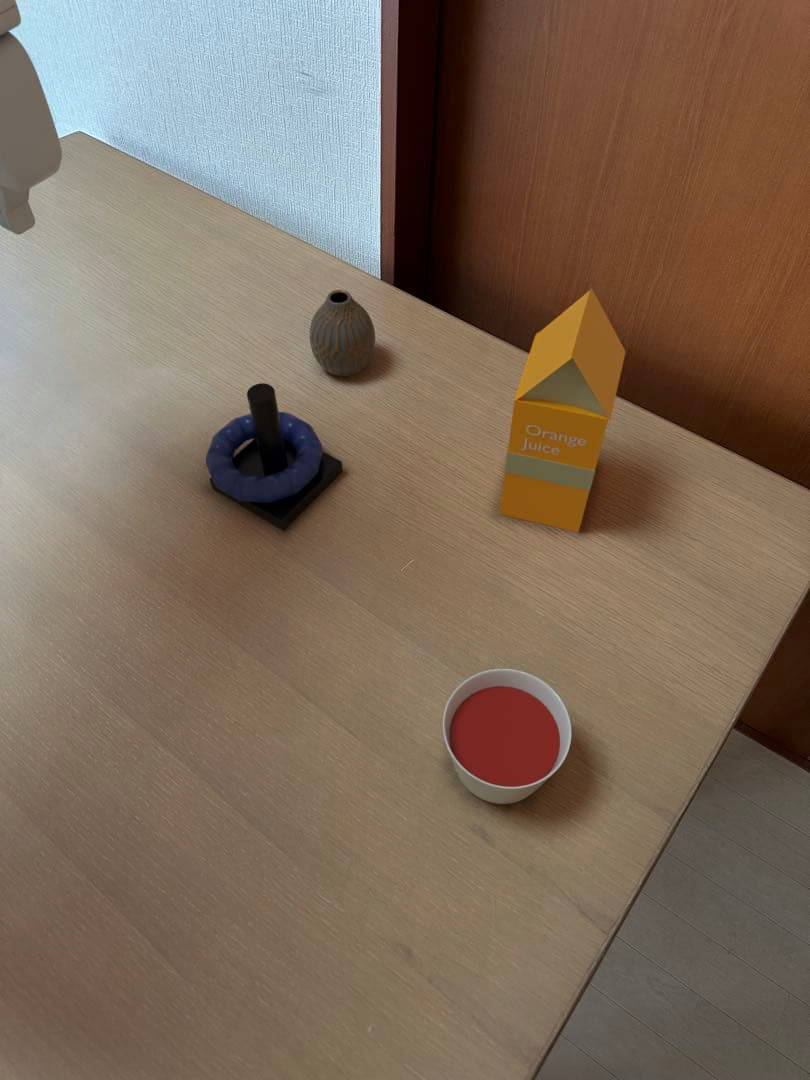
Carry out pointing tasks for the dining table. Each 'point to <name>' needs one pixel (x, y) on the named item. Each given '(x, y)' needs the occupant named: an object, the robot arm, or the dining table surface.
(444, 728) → the candle
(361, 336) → the vase
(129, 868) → the dining table surface
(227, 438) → the ring
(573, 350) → the orange juice
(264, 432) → the black post stand
